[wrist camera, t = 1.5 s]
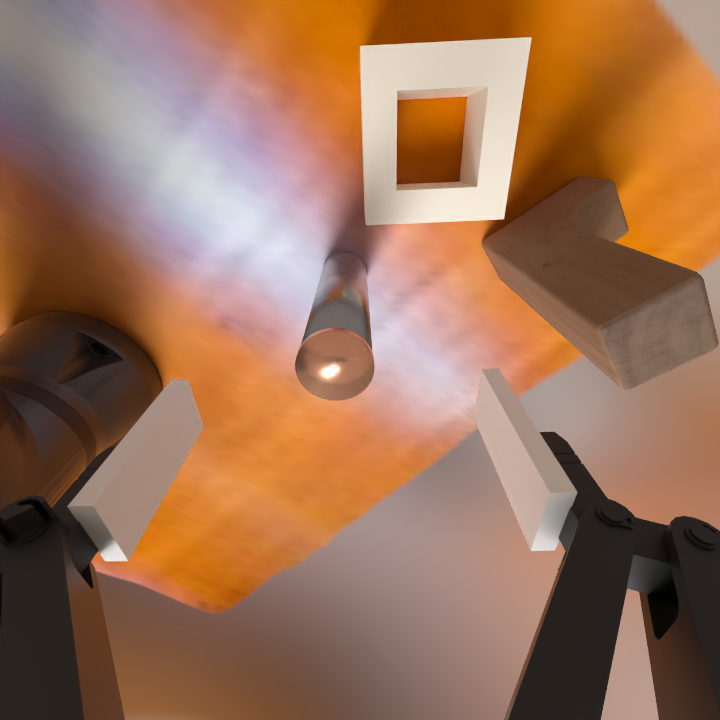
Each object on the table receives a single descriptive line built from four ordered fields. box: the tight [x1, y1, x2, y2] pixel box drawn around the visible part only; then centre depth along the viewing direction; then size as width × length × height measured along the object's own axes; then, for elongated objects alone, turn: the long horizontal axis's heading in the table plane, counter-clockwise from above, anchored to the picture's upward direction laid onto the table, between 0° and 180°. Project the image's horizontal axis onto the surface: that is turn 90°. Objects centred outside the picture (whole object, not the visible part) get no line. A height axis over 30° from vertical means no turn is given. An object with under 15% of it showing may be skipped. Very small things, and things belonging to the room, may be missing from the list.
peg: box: [295, 252, 374, 400], centre depth 26 cm, size 4×4×17 cm
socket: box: [360, 37, 532, 225], centre depth 26 cm, size 10×10×5 cm
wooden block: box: [482, 177, 718, 389], centre depth 23 cm, size 9×4×18 cm, turn 126°
